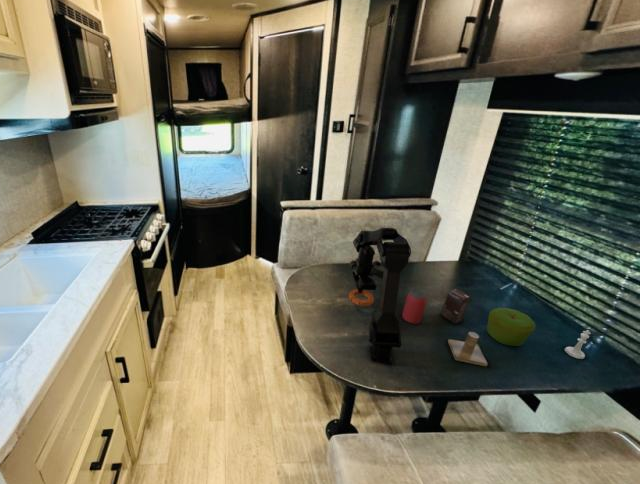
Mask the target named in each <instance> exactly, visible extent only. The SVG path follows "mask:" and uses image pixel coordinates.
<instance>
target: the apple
mask: <svg viewBox="0 0 640 484" xmlns="http://www.w3.org/2000/svg"><path fill="white" fill-rule="evenodd" d="M487 320H488V321H487V327H486V331H487V332H486V333H488V334H489V336H491V337H492V338H493V339H494V340H495V341H496V342H498V343H500V344H503V345H505V346H510V347H511V346H512V347H520V346H523V345H524V343H525V342H526V341H527V339H528V338H529V337H530V336H531V335H532V334H533V332H534V331H535V330H536V328H537V327H536V322H534V320H533V319H532V318H531V317H530V316H529V315H527V314H526V313H524V312H521V311H519V310H516V309H512V308H508V307H498V308H494V309H492V310H490V311H489V314H488V319H487Z"/></svg>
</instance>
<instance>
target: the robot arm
mask: <svg viewBox="0 0 640 484" xmlns="http://www.w3.org/2000/svg"><path fill="white" fill-rule="evenodd" d="M352 245H353V247H354V248H355V250H356V253H357V254H358V255H357V258H355V260H351V261H350V262H349V268H350V269H351V270H354V271H352V272H351V274H352V276H353V280H354V283H355V286H356V289H358V293H362V291H363V290H365V291H376V290H377V282H376V281H375V279H373V278H371V277H374V276H375V277H377V278H380V279H382V282H381V289H380V290H381V291H380V297H379V298H380V299H379V307H378V309H377V310H373V311H372V313H371V314H372V315H371V321H370V322H369V326H368V336H369V337H368V342H369V343H370V344H371V345H370V347H369V349H370V350H369V351H370V361H372V362H376V363H381V364H385V365H390V366H392V365H393V359H392V353H393V352H392V351H393V349H394V348H398V349H400V348H401V347H402V345H403V344H402V337H401V336H402V335H401V328H400V321H399V319H398V317H397V316H396V308H397V300H398V293H399V287H400V279H401V273H402V271H403V270H404V269H405V268H406V267H407V265H408V264H409V260H410V258H411V255H412V249H411V246H410V244H409V242H408V239H406V238H405V237H404V236H402V235H401V234H400V233H399V231H398V230H397V229H396V228H395V227H380V228H378V229H374V230H361V231H360V232H359V233H358V235H357V236H356V237H355V238H354V240H352ZM373 246H376V249H377V253H378V255H379V260H376V259H375V261H373V260H374V257H375V255H376V250H375V248H374V247H373ZM381 264H382V265H381Z"/></svg>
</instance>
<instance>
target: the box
mask: <svg viewBox="0 0 640 484" xmlns="http://www.w3.org/2000/svg"><path fill="white" fill-rule="evenodd" d="M470 300H471V296H470V295H469V294H468V293H466V292H464V291H462V290H460V289H458V288H456V287H455V288H453V289H450V290H449V291H448V292H447V295H446V298H445V301H444V305H443V306H442V311H441V313H440V315H441V316H442V317H443V318H445V319H447V320H448V321H450V322H451V323H452V324H454V325H455V324H458V323H461V322H462V321H463V318H464V316H465V313H466V311H467V308H468V305H469V303H470Z"/></svg>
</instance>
